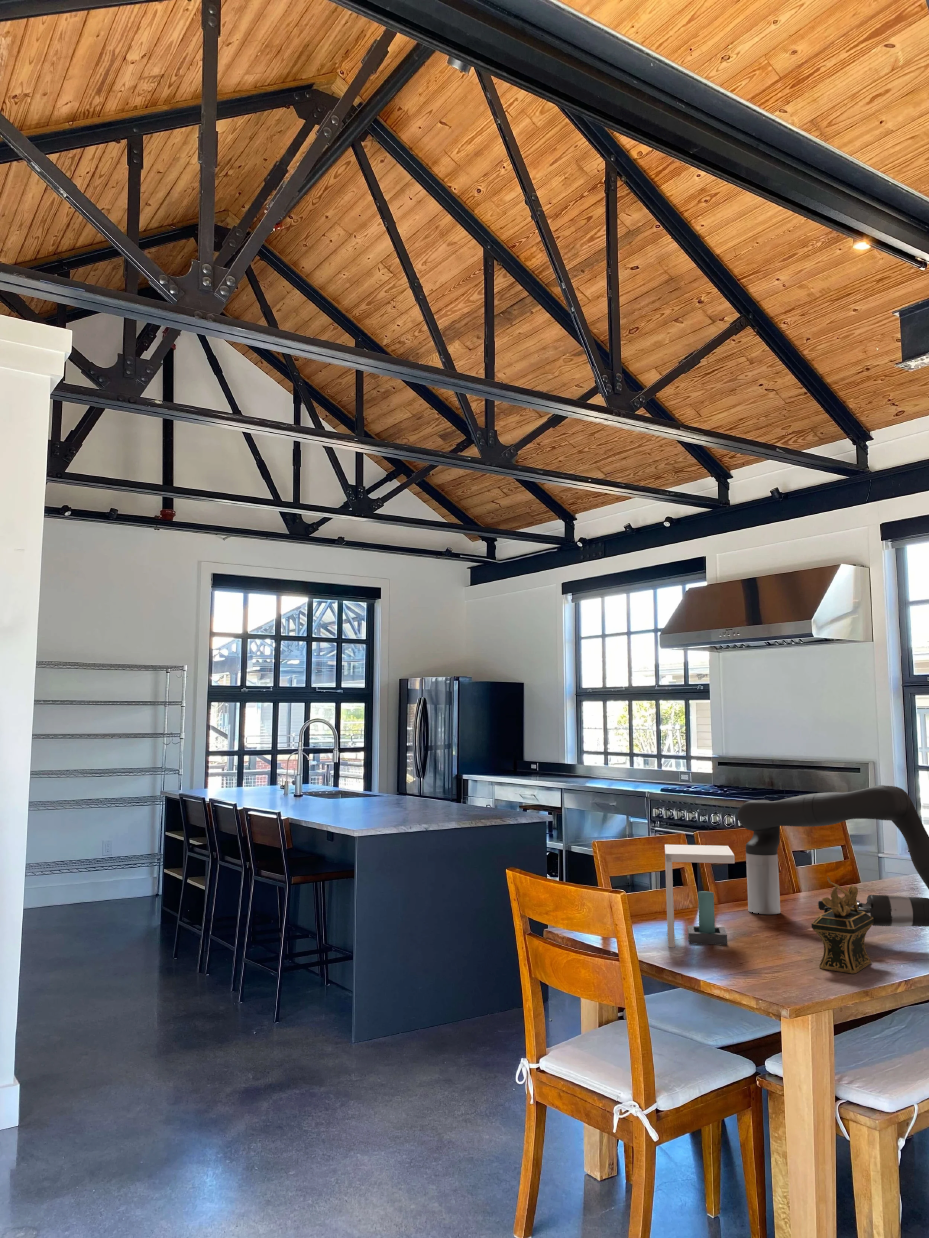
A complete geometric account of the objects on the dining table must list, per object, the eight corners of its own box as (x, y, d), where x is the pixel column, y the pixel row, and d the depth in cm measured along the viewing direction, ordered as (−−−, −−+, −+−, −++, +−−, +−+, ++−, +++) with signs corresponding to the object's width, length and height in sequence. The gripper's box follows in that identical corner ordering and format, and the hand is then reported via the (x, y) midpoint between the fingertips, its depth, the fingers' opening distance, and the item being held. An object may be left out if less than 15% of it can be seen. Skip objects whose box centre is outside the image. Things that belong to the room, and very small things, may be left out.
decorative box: (835, 955, 213) (830, 872, 216) (877, 962, 207) (872, 875, 210) (806, 972, 198) (801, 882, 201) (851, 980, 192) (845, 886, 195)
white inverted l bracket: (738, 950, 219) (734, 855, 222) (668, 946, 223) (665, 853, 226) (731, 932, 238) (728, 845, 242) (667, 930, 242) (664, 844, 245)
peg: (699, 937, 233) (697, 890, 234) (714, 938, 232) (713, 891, 233) (699, 941, 229) (698, 893, 230) (715, 942, 228) (714, 894, 229)
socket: (687, 935, 236) (687, 925, 236) (724, 936, 234) (724, 926, 234) (689, 943, 227) (688, 933, 227) (727, 944, 225) (727, 934, 225)
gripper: (881, 890, 229) (815, 888, 233) (895, 900, 216) (825, 898, 219) (883, 920, 228) (817, 918, 232) (898, 932, 215) (827, 929, 218)
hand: (821, 908), depth 225 cm, fingers open, 8 cm apart
